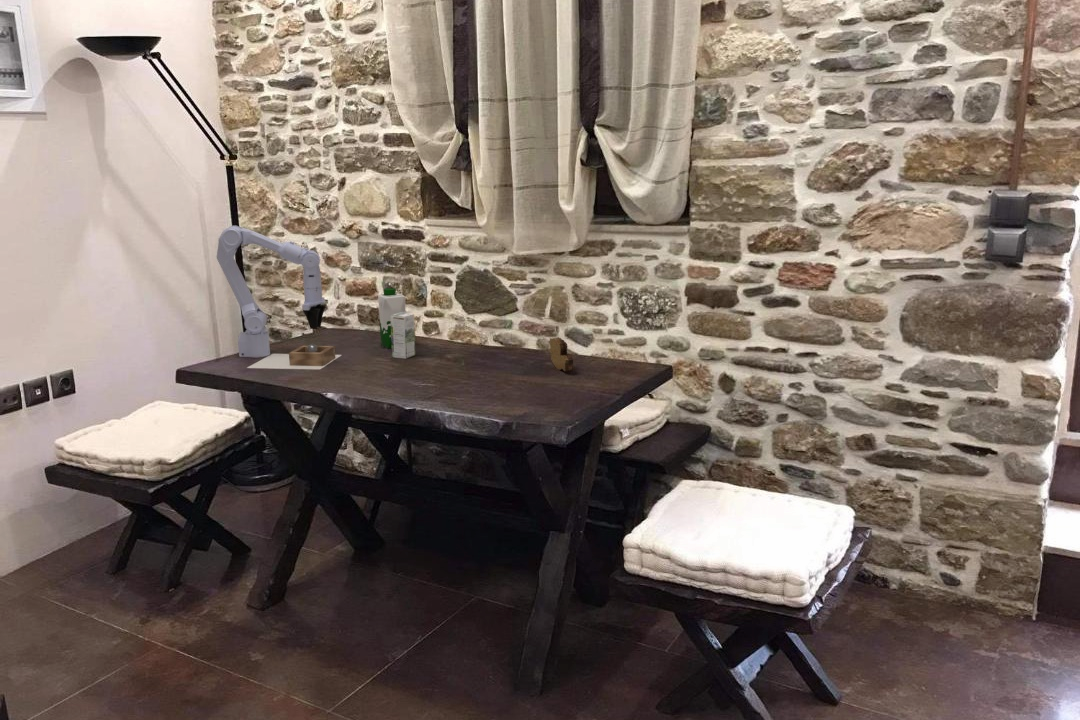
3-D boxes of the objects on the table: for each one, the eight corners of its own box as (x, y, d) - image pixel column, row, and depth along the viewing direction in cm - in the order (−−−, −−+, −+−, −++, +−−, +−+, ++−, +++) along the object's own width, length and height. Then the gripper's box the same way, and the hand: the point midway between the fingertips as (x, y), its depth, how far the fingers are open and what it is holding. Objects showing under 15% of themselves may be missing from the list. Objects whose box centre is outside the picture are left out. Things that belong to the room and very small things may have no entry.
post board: (246, 371, 275) (244, 351, 274) (273, 357, 295) (271, 338, 293) (320, 373, 272) (319, 352, 271) (342, 358, 292) (340, 339, 290)
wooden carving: (579, 374, 268) (578, 342, 265) (565, 375, 266) (565, 343, 264) (557, 362, 282) (557, 332, 280) (544, 364, 281) (543, 333, 278)
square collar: (289, 365, 278) (288, 353, 277) (303, 357, 288) (302, 345, 287) (323, 366, 276) (322, 353, 275) (335, 358, 287) (334, 346, 286)
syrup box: (401, 354, 297) (399, 311, 294) (416, 355, 294) (414, 313, 291) (391, 357, 292) (389, 314, 289) (406, 359, 289) (404, 316, 286)
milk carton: (401, 342, 315) (399, 287, 311) (410, 347, 308) (407, 290, 303) (378, 345, 312) (375, 289, 307) (386, 349, 304) (383, 292, 299)
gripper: (316, 291, 284) (319, 332, 287) (332, 284, 298) (334, 323, 301) (295, 291, 285) (298, 332, 288) (312, 284, 299) (314, 323, 302)
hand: (315, 327), depth 294 cm, fingers open, 3 cm apart
